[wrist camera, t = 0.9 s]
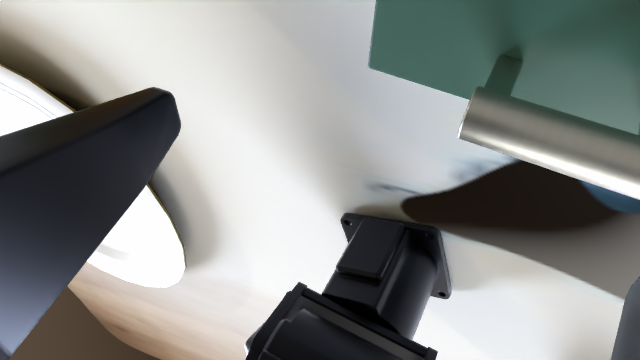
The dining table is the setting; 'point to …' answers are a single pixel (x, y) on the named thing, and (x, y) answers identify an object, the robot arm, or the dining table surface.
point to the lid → (529, 77)
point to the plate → (137, 222)
